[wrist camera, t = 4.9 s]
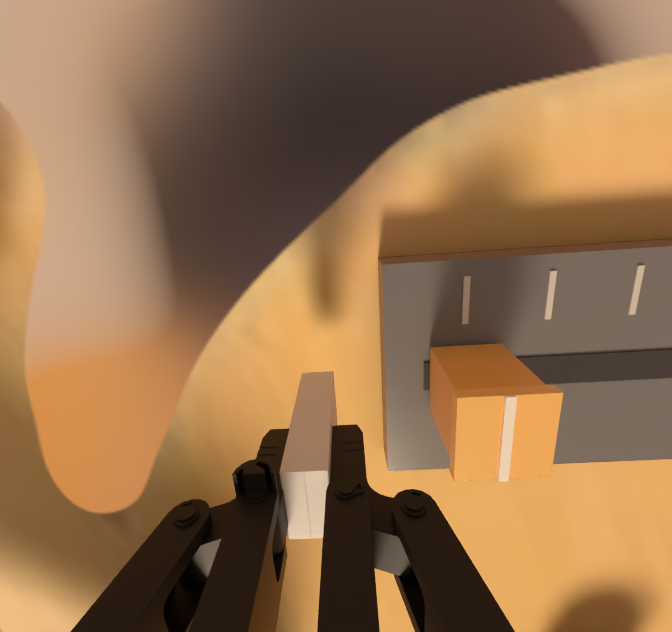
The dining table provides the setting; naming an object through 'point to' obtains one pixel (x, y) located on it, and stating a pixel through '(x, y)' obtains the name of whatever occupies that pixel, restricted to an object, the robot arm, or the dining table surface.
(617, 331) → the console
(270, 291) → the dining table surface
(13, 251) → the dining table surface
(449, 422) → the fader
